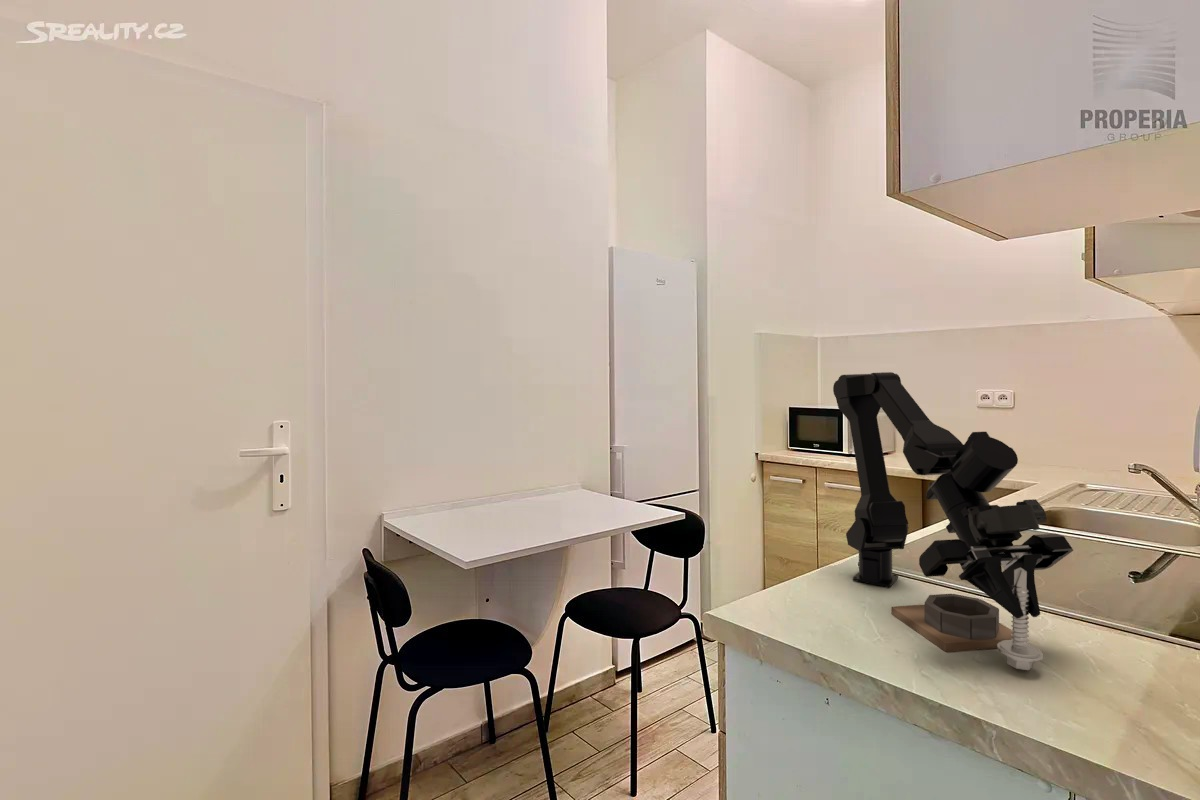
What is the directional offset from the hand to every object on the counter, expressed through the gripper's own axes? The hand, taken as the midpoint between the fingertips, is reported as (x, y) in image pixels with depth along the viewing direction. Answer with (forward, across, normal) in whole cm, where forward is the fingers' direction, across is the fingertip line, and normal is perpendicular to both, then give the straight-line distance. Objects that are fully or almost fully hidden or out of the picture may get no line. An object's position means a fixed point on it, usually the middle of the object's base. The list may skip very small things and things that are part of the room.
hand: (1028, 616), depth 74 cm
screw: (+4, 0, +6) cm, 7 cm away
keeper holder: (-4, 0, +15) cm, 16 cm away
